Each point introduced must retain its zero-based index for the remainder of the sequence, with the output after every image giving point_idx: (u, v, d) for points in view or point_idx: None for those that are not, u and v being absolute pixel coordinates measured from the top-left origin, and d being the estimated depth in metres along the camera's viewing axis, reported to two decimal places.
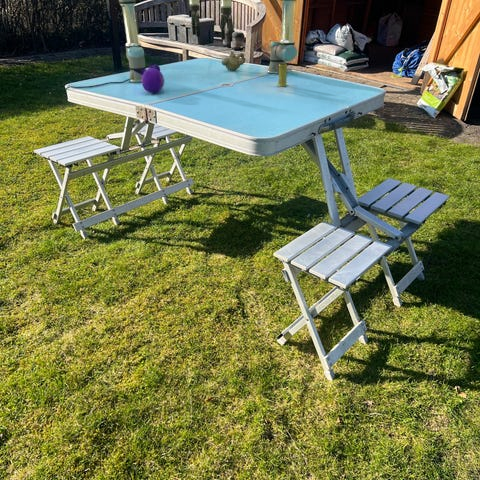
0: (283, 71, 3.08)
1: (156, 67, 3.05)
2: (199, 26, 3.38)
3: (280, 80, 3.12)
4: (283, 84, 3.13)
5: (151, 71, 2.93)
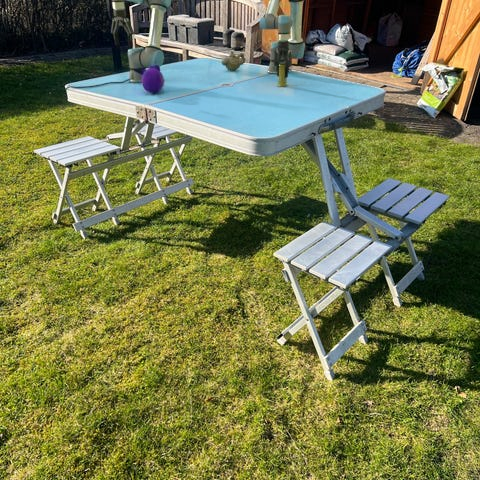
0: (283, 71, 3.08)
1: (156, 67, 3.05)
2: None
3: (280, 80, 3.12)
4: (283, 84, 3.13)
5: (151, 71, 2.93)
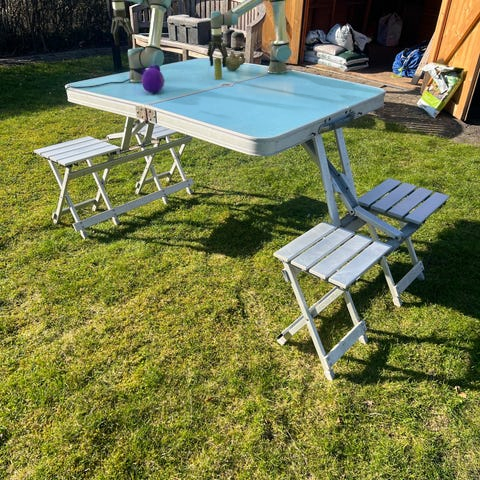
0: (218, 65, 3.35)
1: (156, 67, 3.05)
2: None
3: (216, 73, 3.38)
4: (219, 77, 3.39)
5: (151, 71, 2.93)
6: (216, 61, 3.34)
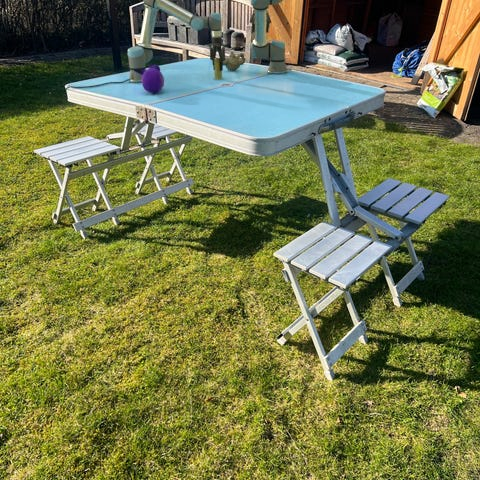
0: (218, 65, 3.35)
1: (156, 67, 3.05)
2: None
3: (216, 73, 3.38)
4: (219, 77, 3.39)
5: (151, 71, 2.93)
6: (216, 61, 3.34)
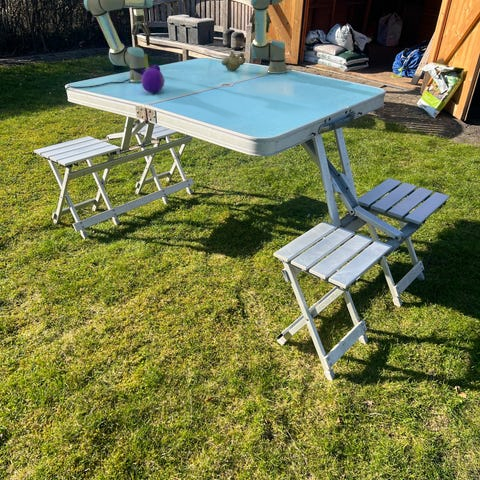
0: None
1: (156, 67, 3.05)
2: (149, 35, 3.50)
3: None
4: None
5: (151, 71, 2.93)
6: None
